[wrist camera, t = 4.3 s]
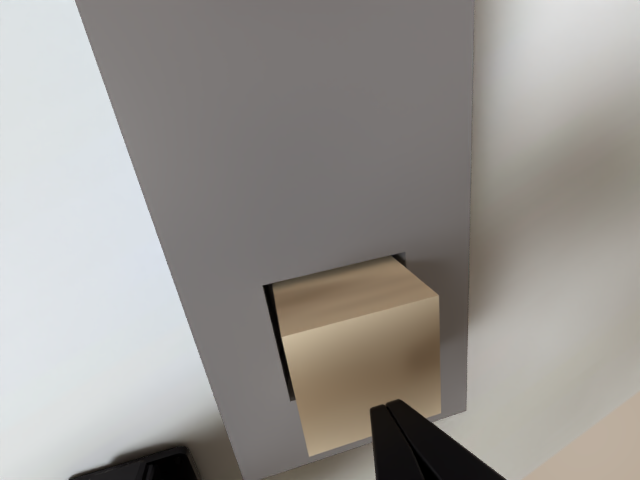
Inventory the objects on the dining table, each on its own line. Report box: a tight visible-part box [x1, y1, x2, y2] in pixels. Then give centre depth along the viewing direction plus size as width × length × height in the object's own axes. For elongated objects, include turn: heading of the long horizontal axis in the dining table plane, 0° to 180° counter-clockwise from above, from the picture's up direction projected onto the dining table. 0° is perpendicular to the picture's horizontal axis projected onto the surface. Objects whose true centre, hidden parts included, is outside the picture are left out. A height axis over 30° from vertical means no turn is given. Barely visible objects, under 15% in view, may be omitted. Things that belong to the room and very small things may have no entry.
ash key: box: [272, 255, 441, 457], centre depth 11 cm, size 4×4×4 cm
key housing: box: [75, 0, 474, 480], centre depth 11 cm, size 25×10×5 cm, turn 9°
